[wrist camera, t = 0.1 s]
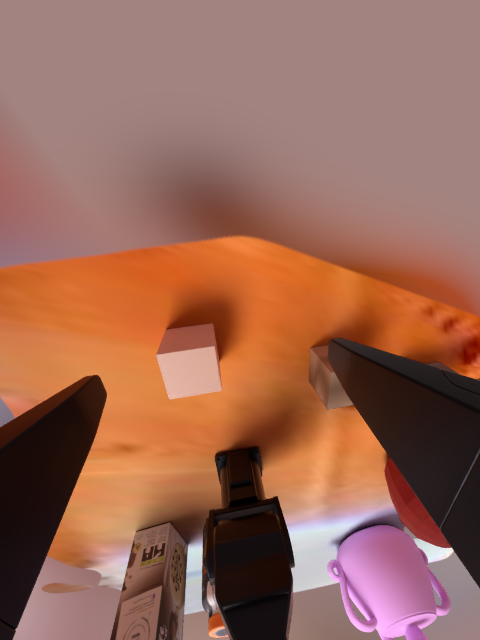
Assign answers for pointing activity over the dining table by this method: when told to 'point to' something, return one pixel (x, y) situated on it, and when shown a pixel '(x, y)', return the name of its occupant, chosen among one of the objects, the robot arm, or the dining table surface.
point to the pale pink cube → (189, 361)
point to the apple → (412, 508)
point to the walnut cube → (326, 379)
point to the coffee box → (153, 587)
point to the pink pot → (388, 583)
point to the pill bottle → (211, 603)
